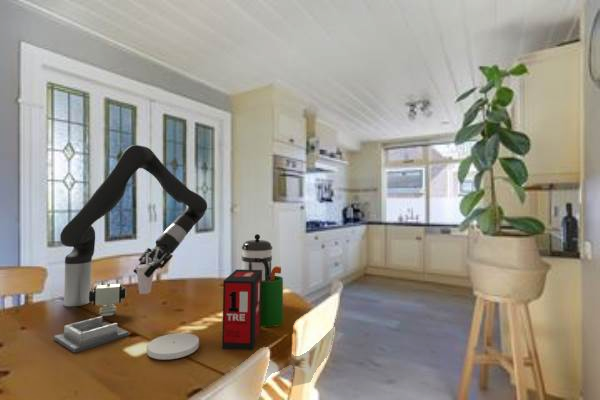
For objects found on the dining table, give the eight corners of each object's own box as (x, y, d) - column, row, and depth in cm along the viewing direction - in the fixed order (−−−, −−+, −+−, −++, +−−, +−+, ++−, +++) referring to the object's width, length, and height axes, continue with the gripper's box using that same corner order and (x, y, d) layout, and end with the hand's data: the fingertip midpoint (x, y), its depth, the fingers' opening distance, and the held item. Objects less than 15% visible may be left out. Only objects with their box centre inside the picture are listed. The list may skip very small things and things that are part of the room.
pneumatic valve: (124, 314, 121) (125, 283, 122) (88, 319, 116) (89, 286, 117) (125, 310, 126) (126, 279, 127) (90, 314, 121) (91, 282, 122)
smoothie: (158, 291, 116) (159, 252, 117) (143, 296, 111) (144, 255, 111) (146, 289, 119) (147, 251, 119) (130, 293, 113) (131, 253, 113)
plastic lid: (145, 367, 83) (146, 357, 84) (147, 345, 96) (147, 337, 96) (201, 357, 89) (201, 348, 89) (196, 338, 102) (196, 330, 102)
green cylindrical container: (258, 317, 121) (259, 264, 121) (282, 316, 122) (283, 264, 122) (257, 327, 111) (258, 269, 111) (283, 326, 112) (284, 269, 112)
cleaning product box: (252, 350, 94) (253, 281, 94) (222, 349, 94) (223, 280, 94) (261, 328, 110) (262, 270, 110) (235, 327, 110) (236, 269, 111)
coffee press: (229, 309, 129) (230, 235, 129) (250, 299, 144) (251, 232, 144) (267, 315, 122) (268, 237, 123) (285, 304, 137) (286, 234, 138)
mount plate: (53, 339, 99) (54, 326, 99) (105, 325, 111) (106, 313, 111) (74, 353, 90) (75, 338, 90) (128, 335, 102) (128, 322, 102)
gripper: (154, 230, 125) (122, 265, 115) (177, 233, 117) (144, 271, 107) (166, 243, 130) (137, 277, 120) (188, 246, 121) (159, 283, 112)
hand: (140, 274), depth 114 cm, fingers closed on smoothie, 6 cm apart
